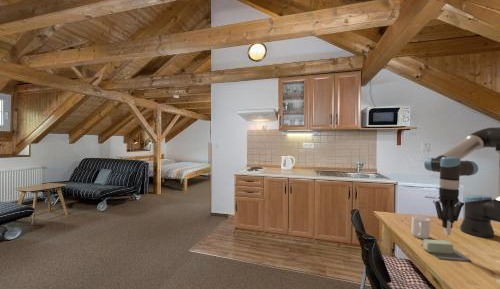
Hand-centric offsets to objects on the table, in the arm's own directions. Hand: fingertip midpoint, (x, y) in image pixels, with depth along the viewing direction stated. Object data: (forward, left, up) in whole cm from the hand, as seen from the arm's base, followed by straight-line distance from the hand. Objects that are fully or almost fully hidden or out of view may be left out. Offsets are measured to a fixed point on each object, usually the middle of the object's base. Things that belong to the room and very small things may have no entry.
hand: (446, 234), depth 117 cm
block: (-1, 0, -7) cm, 7 cm away
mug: (+2, -18, -10) cm, 20 cm away
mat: (+1, +1, -9) cm, 9 cm away
